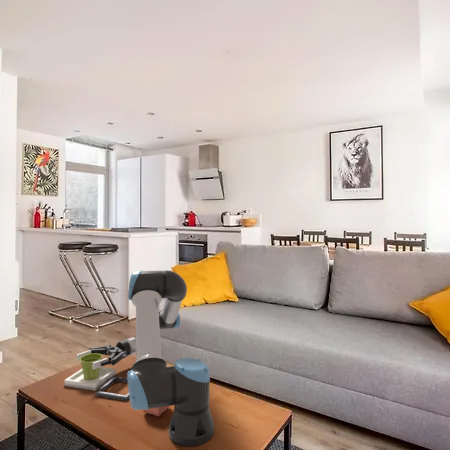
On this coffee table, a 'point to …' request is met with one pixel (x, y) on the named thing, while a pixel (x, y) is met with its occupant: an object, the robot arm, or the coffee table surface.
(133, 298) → the robot arm
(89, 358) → the plant pot
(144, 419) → the coffee table surface
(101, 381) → the tray
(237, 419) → the coffee table surface
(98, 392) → the grey square frame
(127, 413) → the coffee table surface
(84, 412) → the coffee table surface
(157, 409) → the pink cube teapot
